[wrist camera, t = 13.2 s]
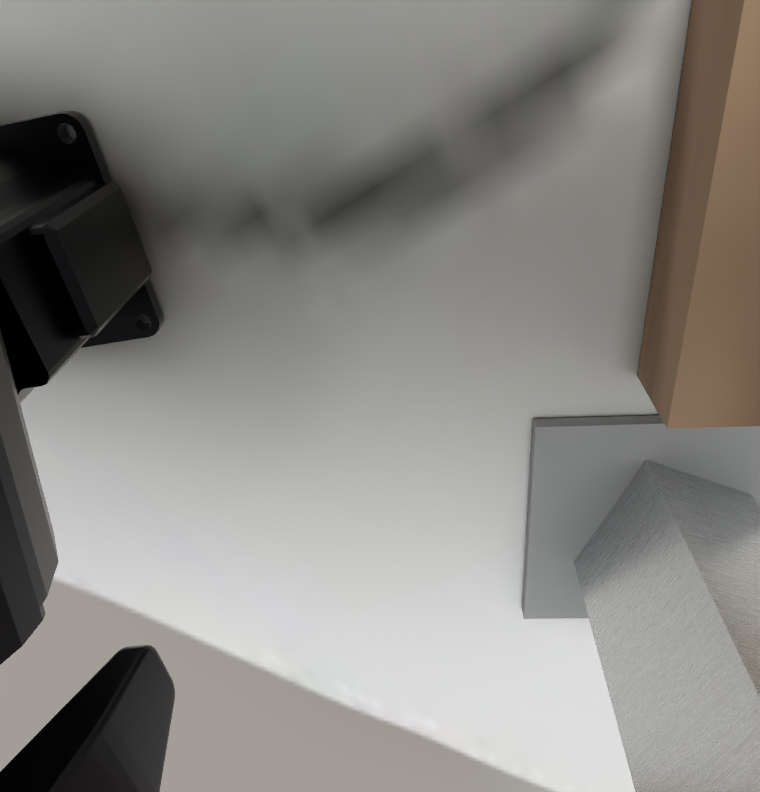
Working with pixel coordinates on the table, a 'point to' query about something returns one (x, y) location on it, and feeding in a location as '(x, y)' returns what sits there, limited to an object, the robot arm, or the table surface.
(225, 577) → the table surface
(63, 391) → the table surface
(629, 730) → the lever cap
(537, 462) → the rubber mat
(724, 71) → the brown wooden rectangular frame
